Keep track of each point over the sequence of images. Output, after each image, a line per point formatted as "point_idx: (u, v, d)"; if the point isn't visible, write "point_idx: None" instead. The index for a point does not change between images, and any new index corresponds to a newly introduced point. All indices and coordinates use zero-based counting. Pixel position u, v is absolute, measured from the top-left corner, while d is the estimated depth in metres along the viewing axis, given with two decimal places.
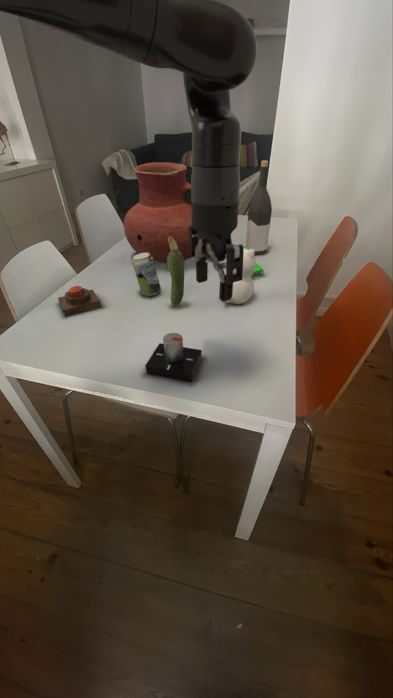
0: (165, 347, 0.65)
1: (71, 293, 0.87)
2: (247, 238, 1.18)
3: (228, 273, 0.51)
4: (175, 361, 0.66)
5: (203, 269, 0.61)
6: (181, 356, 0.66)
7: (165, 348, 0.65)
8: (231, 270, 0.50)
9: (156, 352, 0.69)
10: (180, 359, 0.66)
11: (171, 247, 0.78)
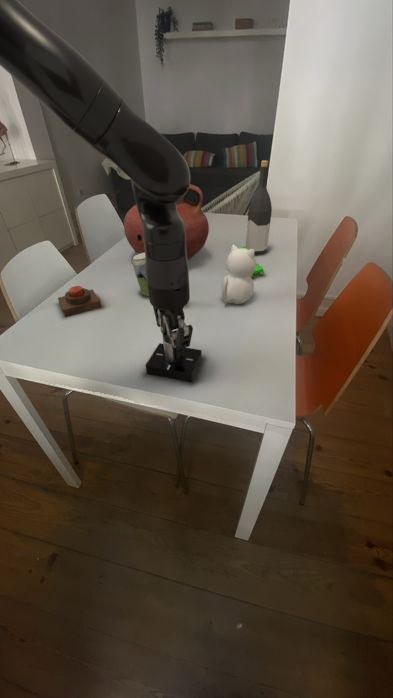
0: (165, 347, 0.65)
1: (71, 293, 0.87)
2: (247, 238, 1.18)
3: (178, 344, 0.59)
4: (175, 361, 0.66)
5: None
6: None
7: (165, 348, 0.65)
8: (180, 343, 0.59)
9: (156, 352, 0.69)
10: None
11: None
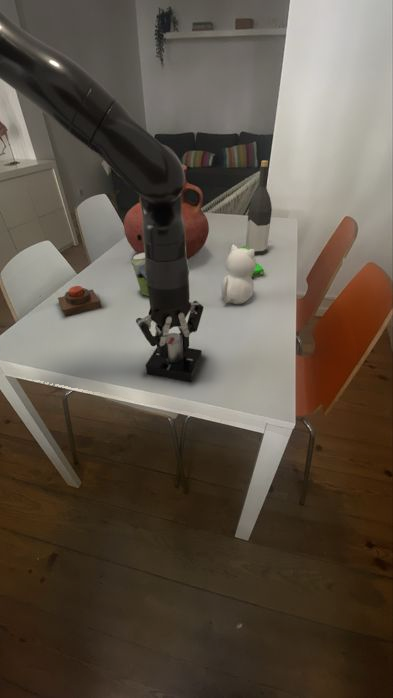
0: None
1: (71, 293, 0.87)
2: (247, 238, 1.18)
3: None
4: None
5: None
6: (168, 358, 0.66)
7: None
8: (143, 333, 0.62)
9: (156, 352, 0.69)
10: (166, 359, 0.66)
11: None
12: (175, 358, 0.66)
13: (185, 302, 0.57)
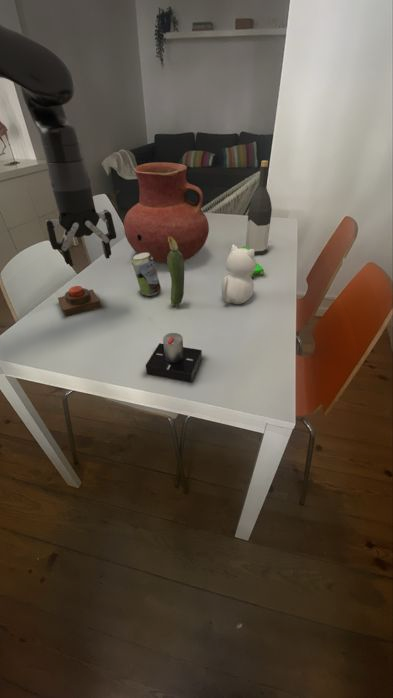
0: None
1: (71, 293, 0.87)
2: (247, 238, 1.18)
3: None
4: None
5: (103, 247, 0.75)
6: (168, 358, 0.66)
7: None
8: (49, 236, 0.69)
9: (156, 352, 0.69)
10: (166, 359, 0.66)
11: (171, 247, 0.78)
12: (175, 358, 0.66)
13: (87, 207, 0.66)
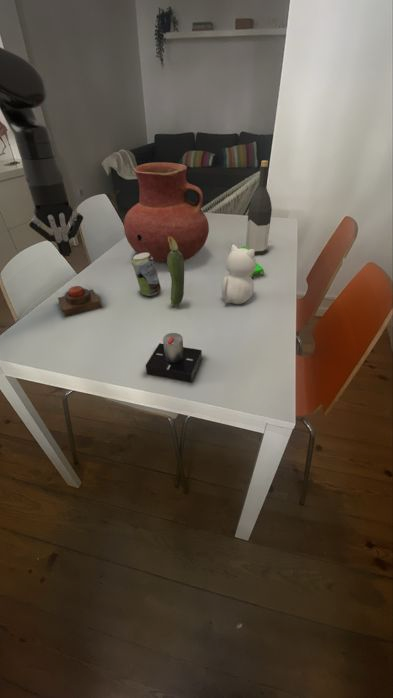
0: None
1: (71, 293, 0.87)
2: (247, 238, 1.18)
3: None
4: None
5: None
6: (168, 358, 0.66)
7: None
8: None
9: (156, 352, 0.69)
10: (166, 359, 0.66)
11: (171, 247, 0.78)
12: (175, 358, 0.66)
13: (60, 200, 0.72)
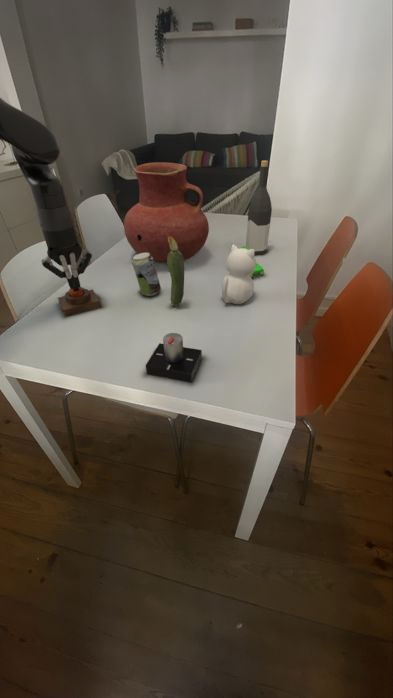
0: None
1: (71, 293, 0.87)
2: (247, 238, 1.18)
3: None
4: None
5: None
6: (168, 358, 0.66)
7: None
8: None
9: (156, 352, 0.69)
10: (166, 359, 0.66)
11: (171, 247, 0.78)
12: (175, 358, 0.66)
13: (71, 243, 0.78)
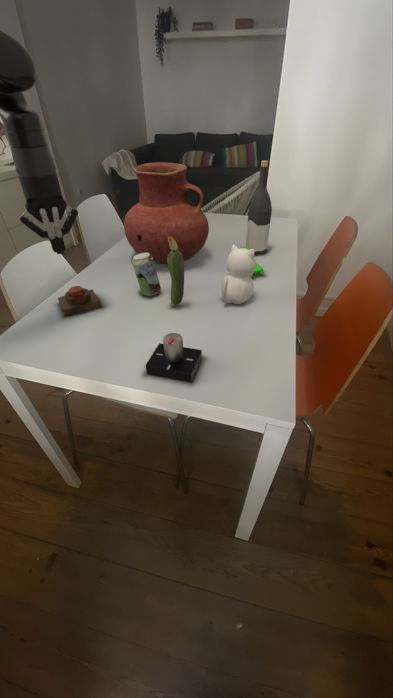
0: None
1: (71, 293, 0.87)
2: (247, 238, 1.18)
3: None
4: None
5: (57, 242, 0.75)
6: (168, 358, 0.66)
7: None
8: None
9: (156, 352, 0.69)
10: (166, 359, 0.66)
11: (171, 247, 0.78)
12: (175, 358, 0.66)
13: (52, 193, 0.67)
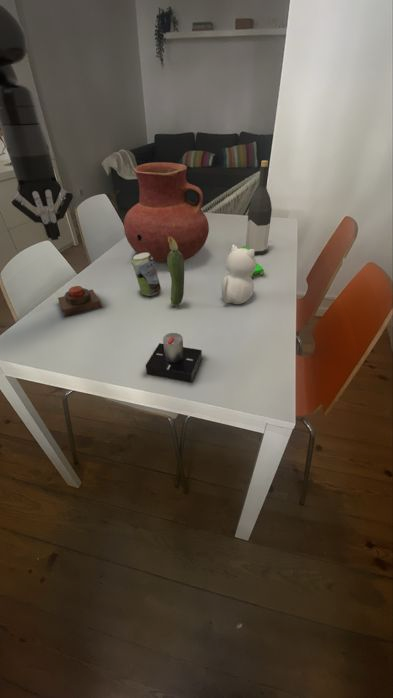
0: None
1: (71, 293, 0.87)
2: (247, 238, 1.18)
3: None
4: None
5: None
6: (168, 358, 0.66)
7: None
8: None
9: (156, 352, 0.69)
10: (166, 359, 0.66)
11: (171, 247, 0.78)
12: (175, 358, 0.66)
13: (45, 175, 0.64)
